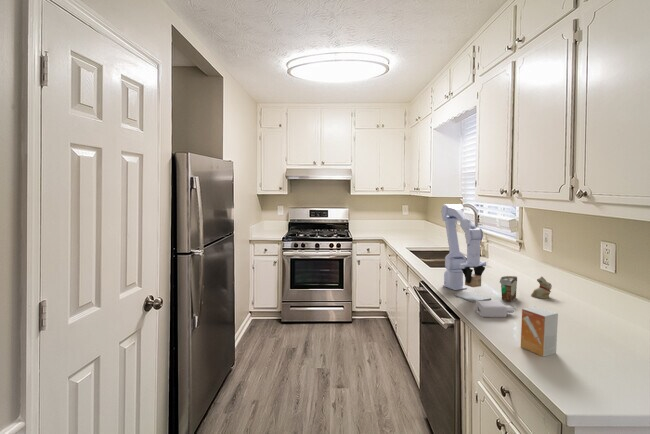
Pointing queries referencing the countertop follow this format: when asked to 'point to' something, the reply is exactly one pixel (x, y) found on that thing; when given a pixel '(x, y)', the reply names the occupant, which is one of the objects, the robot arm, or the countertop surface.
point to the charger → (493, 309)
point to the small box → (539, 331)
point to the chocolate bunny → (542, 289)
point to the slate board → (472, 297)
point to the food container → (508, 288)
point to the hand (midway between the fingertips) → (472, 282)
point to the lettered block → (474, 281)
